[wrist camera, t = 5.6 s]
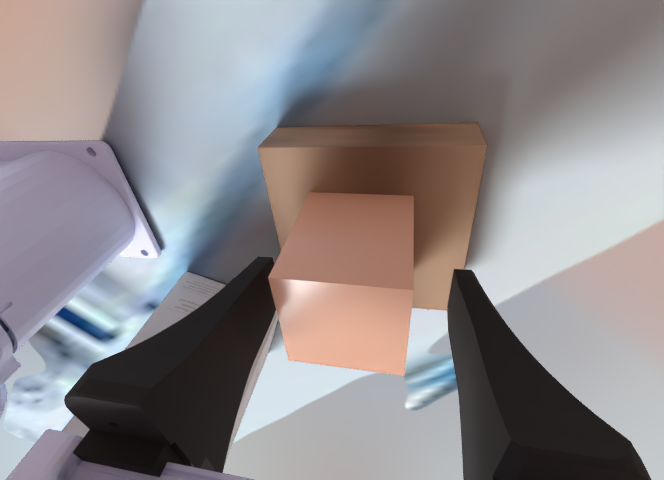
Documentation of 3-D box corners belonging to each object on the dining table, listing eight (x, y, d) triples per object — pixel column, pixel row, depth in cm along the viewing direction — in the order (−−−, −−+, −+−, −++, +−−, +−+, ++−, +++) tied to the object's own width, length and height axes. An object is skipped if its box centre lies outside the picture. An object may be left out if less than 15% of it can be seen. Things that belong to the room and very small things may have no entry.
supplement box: (184, 267, 24) (20, 473, 14) (284, 303, 24) (194, 530, 14) (183, 327, 28) (59, 513, 18) (267, 356, 29) (190, 556, 19)
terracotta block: (318, 267, 18) (288, 360, 14) (309, 192, 15) (268, 277, 11) (406, 274, 17) (404, 375, 13) (413, 195, 14) (413, 289, 10)
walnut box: (304, 263, 22) (291, 297, 20) (279, 123, 17) (257, 147, 14) (451, 272, 20) (455, 311, 18) (475, 118, 15) (487, 145, 12)
